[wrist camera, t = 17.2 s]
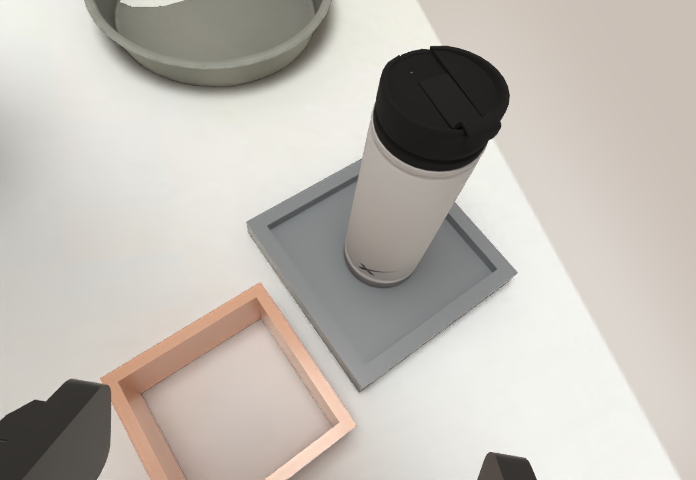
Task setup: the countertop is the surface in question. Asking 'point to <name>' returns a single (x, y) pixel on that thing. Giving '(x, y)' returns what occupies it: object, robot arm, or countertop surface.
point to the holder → (194, 344)
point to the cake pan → (212, 36)
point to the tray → (365, 300)
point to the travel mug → (419, 156)
